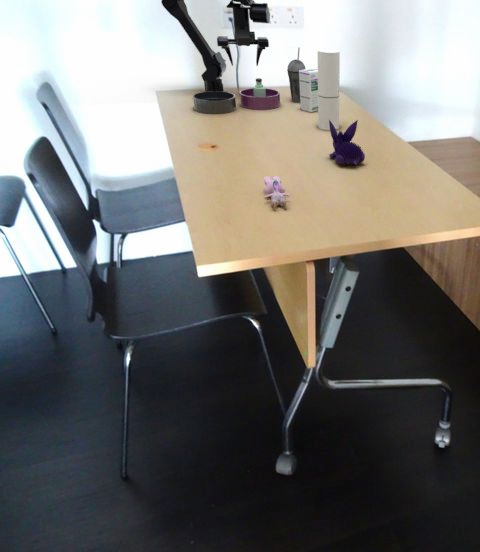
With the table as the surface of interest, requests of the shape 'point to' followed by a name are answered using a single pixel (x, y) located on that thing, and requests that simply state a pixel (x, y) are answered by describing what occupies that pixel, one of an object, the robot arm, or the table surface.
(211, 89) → the robot arm
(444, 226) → the table surface
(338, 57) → the cylindrical container
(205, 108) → the charcoal bowl
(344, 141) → the creature
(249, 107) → the plum bowl
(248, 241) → the table surface
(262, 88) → the bottle
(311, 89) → the syrup box
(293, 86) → the beverage cup
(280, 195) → the rabbit figure
